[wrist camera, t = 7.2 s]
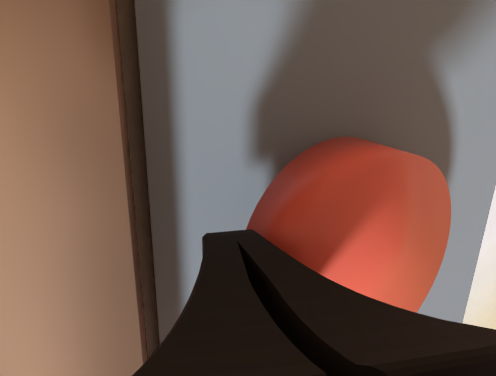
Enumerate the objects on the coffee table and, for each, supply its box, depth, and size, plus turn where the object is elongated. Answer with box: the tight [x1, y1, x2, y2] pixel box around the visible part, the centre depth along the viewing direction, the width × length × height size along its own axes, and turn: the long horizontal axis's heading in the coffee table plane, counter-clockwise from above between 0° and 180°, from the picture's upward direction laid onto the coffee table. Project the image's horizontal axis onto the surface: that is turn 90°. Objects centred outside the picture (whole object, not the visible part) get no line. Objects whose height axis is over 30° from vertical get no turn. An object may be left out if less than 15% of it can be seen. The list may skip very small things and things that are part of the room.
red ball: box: [246, 136, 451, 313], centre depth 14 cm, size 7×7×2 cm
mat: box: [134, 0, 496, 344], centre depth 16 cm, size 13×16×1 cm
